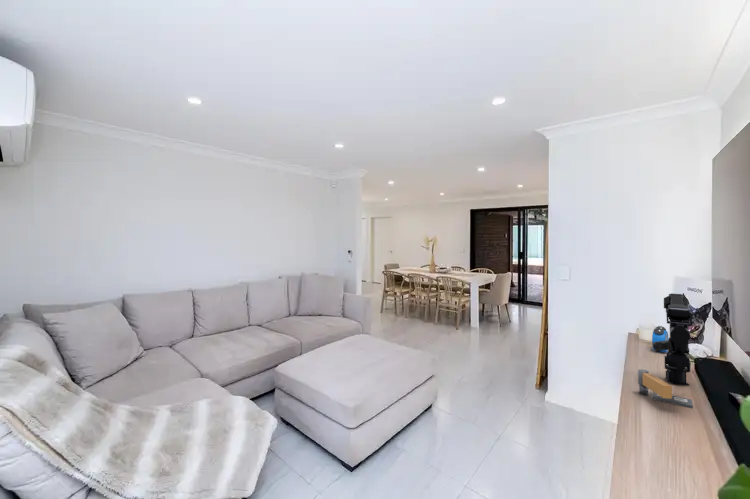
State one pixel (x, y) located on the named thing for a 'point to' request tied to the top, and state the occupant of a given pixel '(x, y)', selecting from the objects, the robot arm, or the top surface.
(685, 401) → the label plate
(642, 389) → the grey grooved cylinder
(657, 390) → the swing bar
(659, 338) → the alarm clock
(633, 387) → the top surface
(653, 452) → the top surface
